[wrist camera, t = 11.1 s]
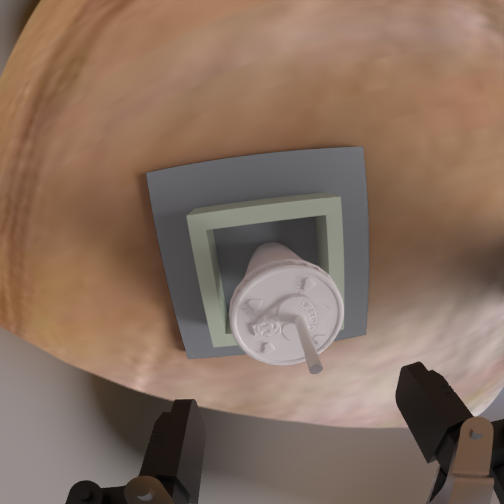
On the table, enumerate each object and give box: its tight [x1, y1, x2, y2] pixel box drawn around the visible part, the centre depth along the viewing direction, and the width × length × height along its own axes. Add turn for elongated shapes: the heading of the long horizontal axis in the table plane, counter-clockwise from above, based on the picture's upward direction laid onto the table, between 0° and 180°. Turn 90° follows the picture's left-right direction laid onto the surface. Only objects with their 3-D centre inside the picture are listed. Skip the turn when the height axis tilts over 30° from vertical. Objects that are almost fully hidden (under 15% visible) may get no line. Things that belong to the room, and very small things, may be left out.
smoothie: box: [229, 242, 344, 374], centre depth 18 cm, size 6×6×14 cm
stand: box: [146, 147, 369, 359], centre depth 23 cm, size 18×18×5 cm
